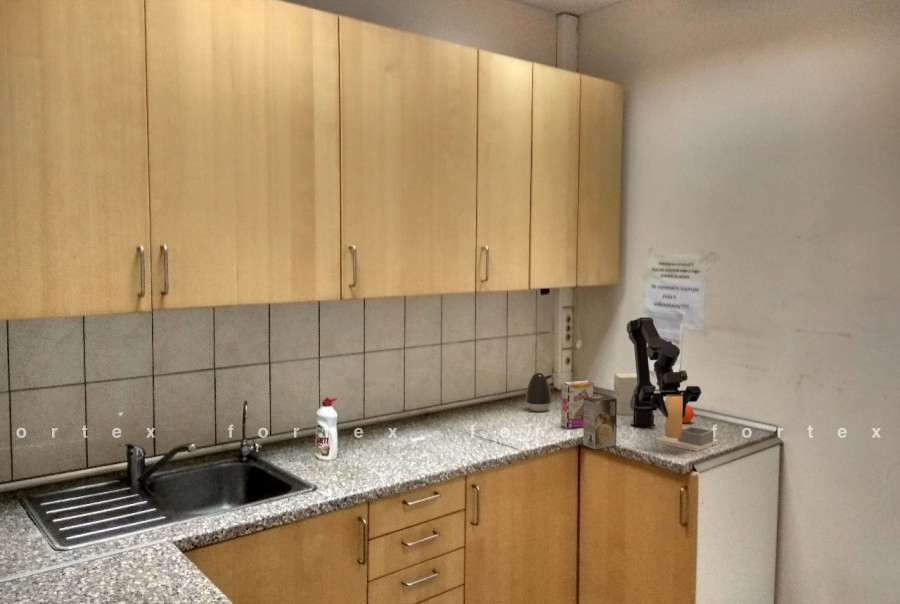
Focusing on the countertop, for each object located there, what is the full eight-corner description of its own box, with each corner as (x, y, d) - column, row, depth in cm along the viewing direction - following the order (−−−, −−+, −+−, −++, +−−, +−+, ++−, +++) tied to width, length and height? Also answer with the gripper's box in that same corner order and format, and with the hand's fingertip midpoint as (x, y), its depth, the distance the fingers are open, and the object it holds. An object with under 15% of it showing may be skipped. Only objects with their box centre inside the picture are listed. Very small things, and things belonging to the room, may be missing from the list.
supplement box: (635, 409, 287) (636, 372, 286) (641, 415, 278) (642, 377, 277) (613, 409, 287) (613, 372, 286) (618, 415, 278) (619, 377, 277)
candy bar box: (567, 429, 257) (568, 384, 255) (560, 426, 261) (560, 382, 260) (594, 426, 261) (594, 382, 260) (586, 423, 266) (586, 379, 264)
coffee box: (604, 441, 242) (605, 394, 241) (616, 446, 236) (617, 398, 235) (582, 444, 238) (583, 397, 237) (594, 449, 232) (595, 401, 231)
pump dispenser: (553, 413, 281) (553, 375, 280) (526, 413, 281) (527, 375, 280) (550, 407, 291) (550, 370, 290) (524, 407, 292) (524, 370, 290)
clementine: (670, 419, 271) (671, 400, 271) (689, 419, 271) (690, 401, 270) (676, 424, 263) (677, 405, 263) (695, 425, 263) (696, 406, 263)
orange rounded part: (662, 436, 228) (663, 395, 227) (670, 433, 231) (671, 393, 230) (676, 439, 224) (677, 398, 223) (684, 436, 228) (685, 396, 227)
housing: (655, 442, 241) (656, 428, 240) (677, 434, 250) (677, 421, 250) (697, 451, 230) (697, 437, 229) (718, 443, 239) (718, 429, 239)
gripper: (642, 361, 230) (651, 403, 220) (700, 361, 230) (712, 402, 220) (635, 380, 238) (643, 422, 228) (690, 380, 239) (702, 421, 228)
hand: (675, 416), depth 226 cm, fingers closed on orange rounded part, 5 cm apart
